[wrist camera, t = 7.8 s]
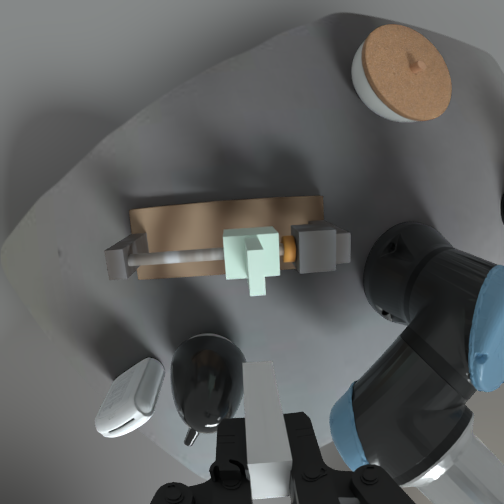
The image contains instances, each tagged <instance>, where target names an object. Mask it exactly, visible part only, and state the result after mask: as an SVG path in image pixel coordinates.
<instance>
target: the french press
mask: <svg viewBox="0 0 504 504" xmlns="http://www.w3.org/2000/svg"><path fill="white" fill-rule="evenodd" d="M501 216H502V221H503V224H504V194H503V197H502V202H501Z"/></svg>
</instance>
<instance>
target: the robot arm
mask: <svg viewBox="0 0 504 504" xmlns="http://www.w3.org/2000/svg"><path fill="white" fill-rule="evenodd" d="M364 289H365V294H366V297H367V299H368V301H369V303H370V304H371V306H372V307H373V308H374V309H375V310H376V311H377V312H378V313H379V314H380V315H381V316H382V317H384V318H385V319H387V320H389V321H391V322H395V323H399V324H403V325H407V327H406V329H405V330H404V331H403V332H402V333H401V335H399V336H398V338H397V339H396V340H395V341H394V342H393V343H392V345H391V346H390V347H389V348H388V349H387V350H386V351H385V352H384V354H383V355H382V356H381V357H380V358H379V359H378V360H377V361H376V362H375V363H374V364H373V365H372V366H371V368H370V369H369V370H368V371H367V372H366V373H365V374H364V375H363V376H362V377H361V378H360V379H359V380H358V381H354V382H353V383H352V384H351V386H350V388H349V390H348V391H347V392H346V393H345V394H344V395H343V396H342V397H341V398H340V399H339V400H338V401H337V402H336V403H335V405H334V406H333V408H332V410H331V413H330V422H329V423H330V428H331V435H332V438H333V441H334V444H335V446H336V448H337V450H338V452H339V454H340V455H341V457H342V459H343V460H344V461H345V463H346V464H347V465H348V467H349V468H350V469H351V470H352V471H338V470H334V469H331V468H330V467H328V466H327V465H326V464H325V463H324V461H323V459H322V456H321V453H320V449H319V446H318V443H317V440H316V436H315V433H314V430H313V426H312V423H311V420H310V418H309V417H308V416H307V415H306V414H305V413H304V412H297V413H289V414H283V412H282V407H281V402H280V397H279V392H278V387H277V382H276V377H275V372H274V368H273V363H272V361H264V362H249V363H243V385H244V406H245V418H227V419H222V420H221V422H220V424H219V425H218V427H217V446H216V461H215V462H214V463H213V464H212V465H211V467H210V470H209V472H210V475H211V478H210V479H209V480H208V481H206V482H205V483H202V484H198V485H194V486H189V487H188V486H186V485H184V484H182V483H176V482H172V483H167V484H165V485H163V486H161V487H160V488H159V489H158V490H157V492H156V494H155V496H154V497H153V499H152V501H151V503H150V504H253V502H252V499H263V498H274V497H283V496H289V495H290V496H291V504H415V503H414V501H413V500H411V498H410V497H409V496H408V495H407V494H406V493H405V492H404V491H403V490H402V489H401V487H412V486H414V487H417V488H418V489H419V490H420V491H421V492H422V493H423V494H424V495H425V496H426V497H427V498H428V499H429V500H430V501H431V502H432V503H433V504H504V464H503V463H502V462H501V461H500V460H499V459H498V458H497V457H496V456H495V455H494V454H493V453H492V452H491V451H490V450H489V449H488V448H487V447H486V446H485V445H484V444H483V443H482V442H481V440H480V439H479V438H478V437H477V436H476V435H475V434H473V422H474V413H473V412H472V411H471V410H470V409H469V408H468V407H467V406H466V405H465V404H466V402H467V401H468V399H470V397H471V396H472V395H473V394H474V393H475V392H476V391H477V390H478V391H484V392H491V391H493V390H496V389H497V388H499V387H500V385H501V383H504V266H502V265H497V264H494V263H492V262H489V261H487V260H484V259H482V258H479V257H476V256H474V255H471V254H469V253H466V252H463V251H461V250H458V249H455V248H454V247H453V246H452V245H451V244H450V243H449V242H448V241H447V240H446V239H445V238H444V237H443V236H442V235H441V234H440V233H439V232H438V231H437V230H436V229H434V228H432V227H430V226H428V225H425V224H421V223H418V222H405V223H401V224H398V225H396V226H394V227H392V228H391V229H389V230H388V231H387V232H385V233H384V234H383V235H382V236H381V237H380V238H379V240H378V241H377V242H376V243H375V245H374V247H373V248H372V250H371V252H370V254H369V256H368V259H367V262H366V265H365V270H364Z"/></svg>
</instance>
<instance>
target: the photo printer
mask: <svg viewBox="0 0 504 504" xmlns="http://www.w3.org/2000/svg"><path fill="white" fill-rule="evenodd" d="M164 376H165V371H164V368H163V366H162V364H161V363H160V362H159V361H158V360H156V359H154V358H150V357H148V358H146V359H144V360H142V361H140V362H139V363H137V364H136V365H134V366H133V367H131V368H130V369H128V370H127V371H125V372H124V373H122V374H121V375H120V376H118V377H117V378H116V379H115V380H114V382H113V383H112V385H111V387H110V389H109V391H108V393H107V395H106V397H105V399H104V402H103V404H102V406H101V408H100V410H99V412H98V414H97V416H96V418H95V426H96V429H97V431H98V432H100V433H101V434H103V435H104V436H105V437H117V436H121V435H124V434H126V433H129V432H131V431H133V430H135V429H136V428H138V427H140V426H141V425H142V424H144V423H145V422H146V421H147V420H149V419H150V417H151V416H152V415H153V413H154V411H155V407H156V404H157V400H158V397H159V394H160V390H161V387H162V383H163V380H164Z"/></svg>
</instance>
